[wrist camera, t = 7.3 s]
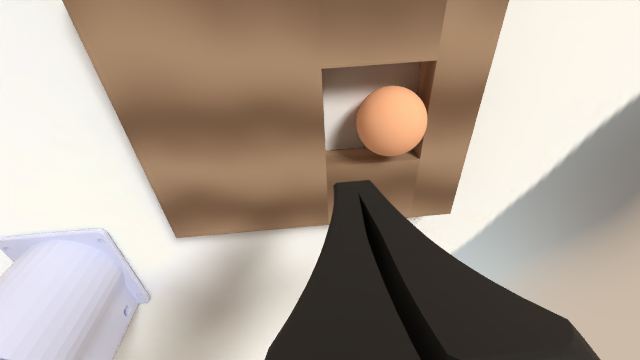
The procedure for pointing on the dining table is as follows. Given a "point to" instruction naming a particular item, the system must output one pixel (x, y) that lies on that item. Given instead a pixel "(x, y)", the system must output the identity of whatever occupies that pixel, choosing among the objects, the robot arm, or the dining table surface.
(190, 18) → the hole board
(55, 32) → the dining table surface
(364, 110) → the ball
